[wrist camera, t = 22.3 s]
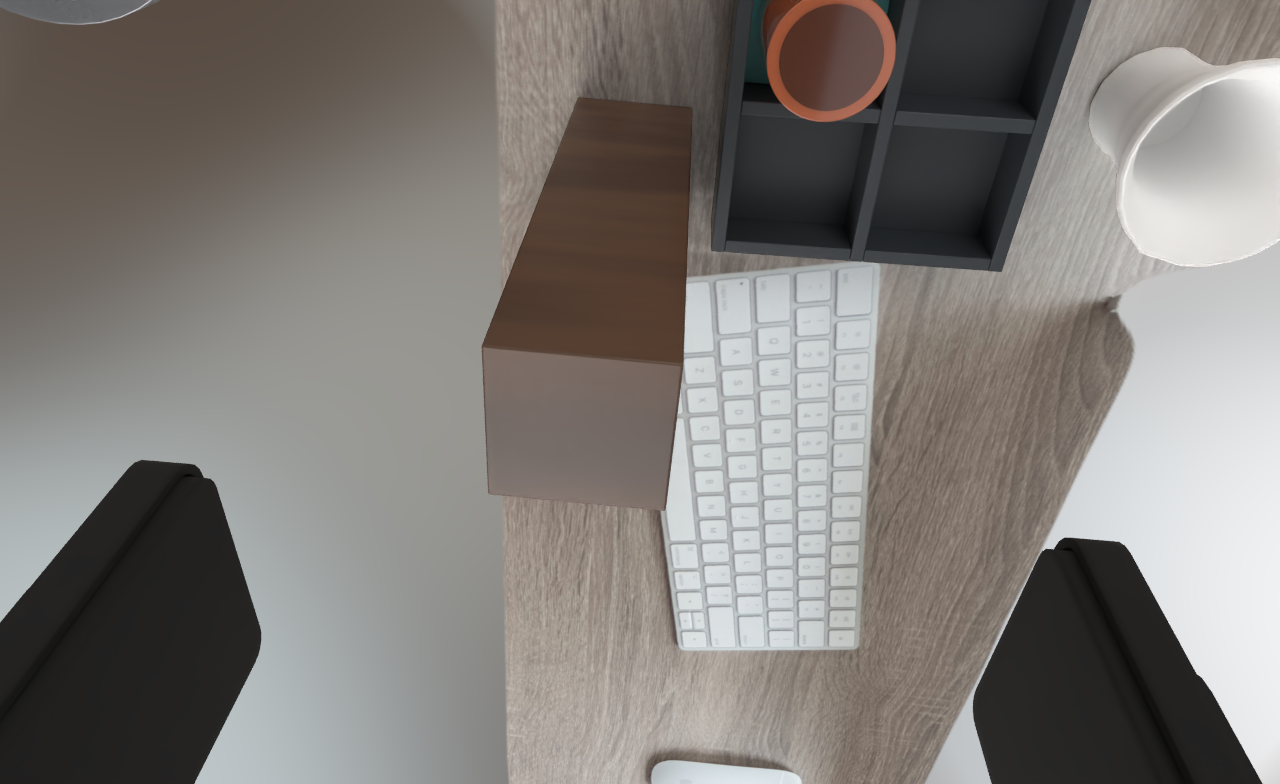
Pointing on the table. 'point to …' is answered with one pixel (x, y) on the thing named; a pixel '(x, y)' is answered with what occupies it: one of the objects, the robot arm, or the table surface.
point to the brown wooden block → (595, 316)
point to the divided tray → (898, 140)
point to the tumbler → (826, 55)
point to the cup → (1193, 154)
